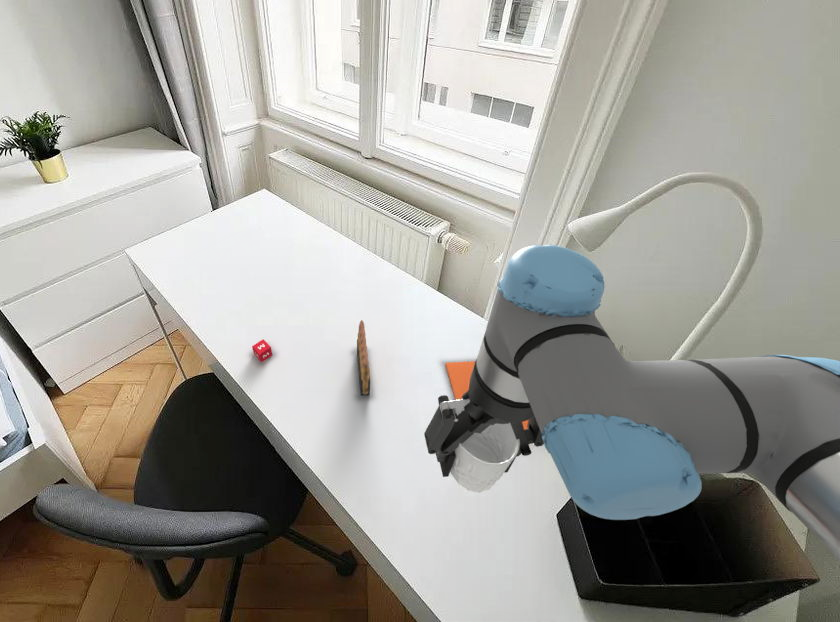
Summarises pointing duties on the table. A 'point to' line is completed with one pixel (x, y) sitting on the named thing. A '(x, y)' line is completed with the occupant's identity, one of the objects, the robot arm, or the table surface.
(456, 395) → the folder
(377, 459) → the table surface
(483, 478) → the white cup
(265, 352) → the dice
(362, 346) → the ammunition clip
